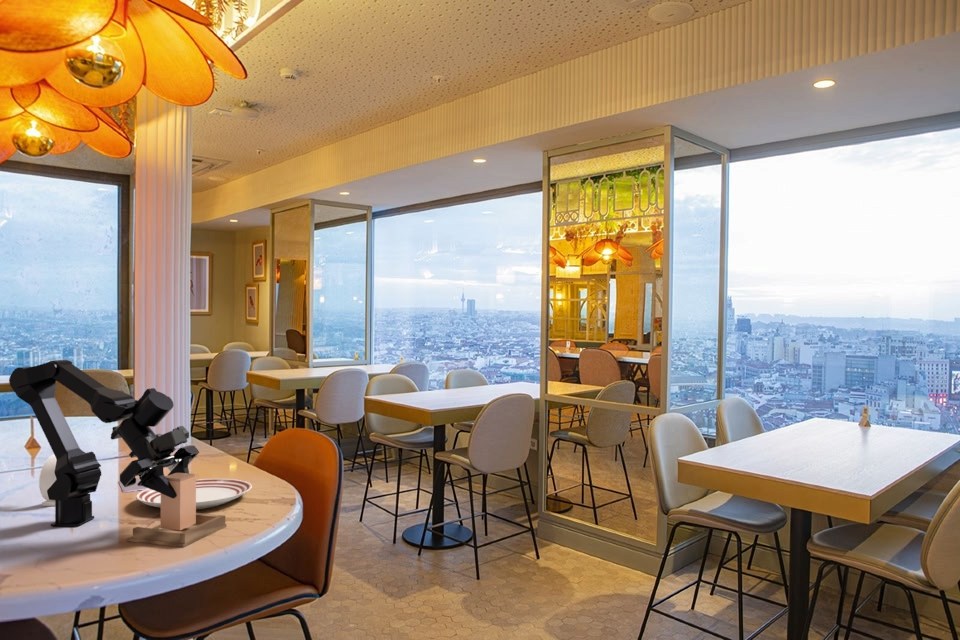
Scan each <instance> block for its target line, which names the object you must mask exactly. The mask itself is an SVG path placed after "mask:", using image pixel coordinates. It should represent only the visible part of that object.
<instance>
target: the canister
mask: <svg viewBox="0 0 960 640" xmlns="http://www.w3.org/2000/svg"><path fill="white" fill-rule="evenodd" d="M165 477H166V478H167V480H168V481H169V483H170V484H171V486H172V487H173V489H174V490H175V492H176V494H177V496H176V497H175V498H171V497H168V496H166V495H164V494H161V508H160V525H161V528H164V529H173V530H182V529H184V528H186V527H189V526H191V525H193V524H195V523H196V513H197V509H196V480H197V476H196V474H195V473H190V472H189V473H174V474H171V475H168V474H167V475H165Z"/></svg>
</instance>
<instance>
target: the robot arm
mask: <svg viewBox="0 0 960 640" xmlns="http://www.w3.org/2000/svg"><path fill="white" fill-rule="evenodd" d="M8 382H9V386H10V387H11V389H12V391H13V392H14V393H15V395H16V397H17V398H18V399H20V400H22V401H23V402H24V403H26V404H28V405H29V406H30V408H31V410H32V411H33V414H34V415H35V418H36V420H37V421H38V423H39V426H40V428H41V430H42V432H43V433H44V436H45V438H46V440H47V442H48V444H49V446H50V448H51V450H52V451H51V452H52V453H53V454H54V455H55V457H56V459H57V461H56V467H55V476H56V479H57V480H56V481H55V482H54V483H53V484H52V485H51V487H50V488H49V489H48V490H47V494H48V497H49V500H55V506H54V507H55V509H54V512H55V513H54V514H55V515H54V518H55V519H54V521H53V522H51V523H50V526H51V527H79V526H81V525H83V524H85V523H87V522H89V521H92V520H94V519H95V515H93V501H92V500H91V493H95V492H96V491H97V488H98V485H99V482H100V480H101V476H102V470H101V468H100V467H102V465H101V464H100V463H99V461H98V459H97V456H96V453H94V452H93V451H87V452H85V451H84V450H82V449H81V448H80V445H79V444H78V442H77V440H76V438H75V436H74V434H73V431H72V430H71V427H70V426H69V423H68V421H67V420H66V417H65V415H64V414H63V411H62V409H61V407H60V405H59V403H58V401H57V400H56V397H55V394H56V391H57V382H58V383H59V384H61V385H62V386H63V387H65V388H67V390H70V392H72V393H74V394H75V395H77V396H78V397H79V398H81V399H82V400H84V401H86V403H88V404H89V405H90V411H91V412H92V414H94V415H95V416H96V417H97V419H99V420H100V421H101V422H102V423H104V424H111V423H116V422H120V423H119V425H116V426H113V427H112V431H111V434H110V440H111V441H113V440H117V439H122V440H123V441H124V443H125V444H126V445H127V447H129V449H130V452H129V454H128V455H129V457H130V458H131V459H132V458H137V459H134V460H132V461H131V462H129V464H128V465H127V466H126V467H125V468H124V469H123V470H122V471H121V472H120V473H119V481H120V482H121V483H122V484H123V486H124V487H128V486H131V485H134V484H135V483H136V478H137V477H138V478H140V480H141V481H140V482H139V483H138V484H137V485H138V486H144V487H146V488H149V489H152V490H154V491H157V492H159V493H161V494H164V495H166V496H168V497H171V498H175V497H176V496H177V494H176V492H175V490H174V489H173V487H172V486H171V484H170V483H169V481H168V480H167V478H166V477H165V476H166V475H165V473H164V468H167V469H168V470H169V472H168V473H167V476H168V475H171V474H174V473H189V474H190V471H189V470H190V469H189V465H190V463H191V462H192V461H193V460H194V459H195V458H196V457H197V456H198V455H199V453H200V451H199V449H198V448H197V447H196V446H195V445H192V444H191V445H185V446H182V447H180V448H178V449H176V447H178V446H180V445H181V444H186V443H188V439H189V438H190V431H188V430H187V429H186V427H185V426H184V425H180V426H177V427H175V428H173V429H172V430H171V431H168V432H165V433H164V434H162V433H157V434H156V433H155V432H154V431H153V429H152V428H151V427H157V426H158V425H159V424H160V422H162V420H163V419H164V418H165V417H166V416H167V415H168V413H170V412H171V410H172V409H173V408H174V402H173V399H172V398H171V397H170V396H167V395H166V394H164V393H163V392H160V391H157V390H156V388H155V387H152V388H146V389H145V391H144V392H143V394H142V396H141V397H140V398H139V399H138V400H137V399H135V397H134V396H133V395H130V394H128V393H126V392H123V391H121V390H118V389H113V388H109V387H106V386H105V385H103V383H101V382H99V381H98V380H97V379H94V378H93V377H92V376H91V375H89V374H88V373H86V372H84V371H83V370H81V369H80V368H78V367H77V366H75V364H74V362H72V361H71V360H68V359H59V360H58V359H57V360H50V361H48V362H45V363H42V364H38V365H34V366H25V367H24V366H21V367H16V368H14V370H13V371H12V373H11V375H9V379H8ZM172 454H173V455H172ZM171 455H172V456H171Z"/></svg>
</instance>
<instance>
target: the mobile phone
mask: <svg viewBox="0 0 960 640" xmlns="http://www.w3.org/2000/svg"><path fill="white" fill-rule="evenodd" d="M135 478H136V483H135V484H134V485H131V486H128V487H124V486H123V484H122V483H121V482H120V480H119V481H118V484H119V485H120V488H121V491H122V493H124V494H125V493H127V494H128V493H134V492H141V491H143V490H145V489H148V488H146V487H144V486H138V485H137V484H138V483H139V482H140V481H141V480H140V478H139V477H135Z"/></svg>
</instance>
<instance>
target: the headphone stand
mask: <svg viewBox="0 0 960 640" xmlns="http://www.w3.org/2000/svg"><path fill="white" fill-rule="evenodd" d="M56 461H57V459H56V457H55V455H54V453H53V454H51V455H50V456H49V457H48V458H47V459H46V460H45V462H44V463H43V465H42V467H41V470H40V474H39V480H38V481H39V482H38V483H39V484H38V486H39V487H38V488H39V491H40V494H41V497H42V498H43V499H44V500H45V501H43V502H41V507H55V500H49V497H48V494H47V490H48V489H49V488H50V487H51V485H52V484H53V483H54V482H55V481H56V480H57V479H56V476H55V467H56Z"/></svg>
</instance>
